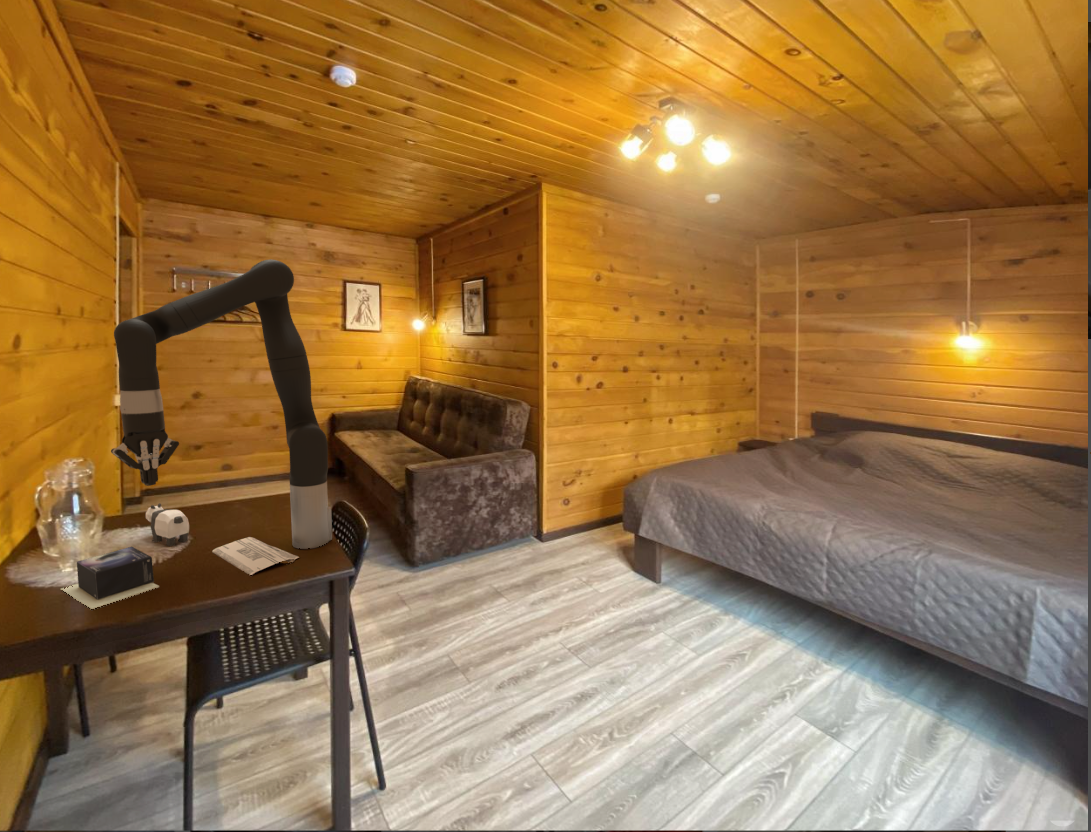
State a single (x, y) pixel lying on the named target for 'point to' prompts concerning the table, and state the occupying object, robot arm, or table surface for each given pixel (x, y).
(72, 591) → the blank cream paper sheet
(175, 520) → the giant panda
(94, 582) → the small box
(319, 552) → the table surface
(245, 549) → the newspaper
